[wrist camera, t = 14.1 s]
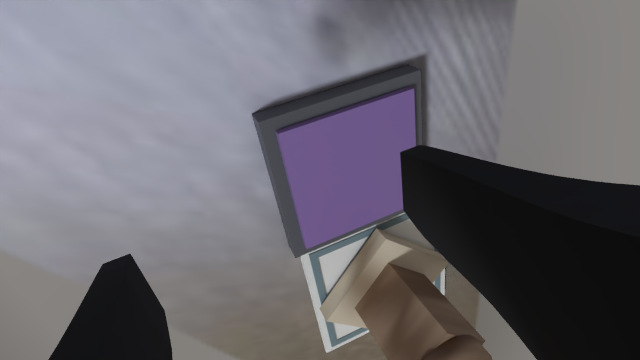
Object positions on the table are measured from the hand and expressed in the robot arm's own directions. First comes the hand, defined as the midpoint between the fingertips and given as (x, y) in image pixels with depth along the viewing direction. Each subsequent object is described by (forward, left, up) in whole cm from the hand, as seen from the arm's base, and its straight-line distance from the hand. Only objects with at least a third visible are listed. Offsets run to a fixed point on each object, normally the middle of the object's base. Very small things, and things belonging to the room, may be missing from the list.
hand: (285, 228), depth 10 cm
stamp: (-7, +16, -10) cm, 20 cm away
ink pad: (-6, +6, -10) cm, 13 cm away
